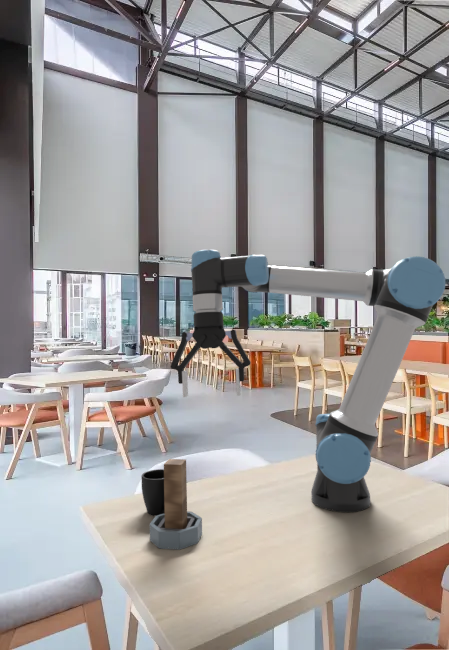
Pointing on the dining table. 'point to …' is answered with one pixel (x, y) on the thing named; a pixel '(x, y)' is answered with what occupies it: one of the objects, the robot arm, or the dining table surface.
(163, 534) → the octagonal peg hole ring
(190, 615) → the dining table surface
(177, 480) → the wooden post
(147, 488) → the mug
